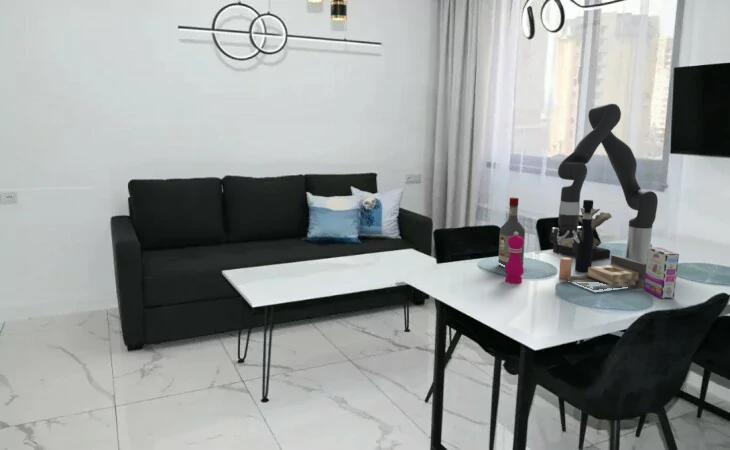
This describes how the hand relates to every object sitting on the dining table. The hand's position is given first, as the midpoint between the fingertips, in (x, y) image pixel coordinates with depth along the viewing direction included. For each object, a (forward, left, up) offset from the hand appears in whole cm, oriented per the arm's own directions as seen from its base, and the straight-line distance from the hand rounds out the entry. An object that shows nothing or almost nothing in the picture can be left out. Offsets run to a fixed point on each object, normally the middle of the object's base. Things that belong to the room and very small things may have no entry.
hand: (565, 252), depth 215 cm
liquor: (+10, -23, -11) cm, 27 cm away
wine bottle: (-15, -7, -11) cm, 20 cm away
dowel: (0, 0, -11) cm, 11 cm away
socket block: (-13, +12, -9) cm, 20 cm away
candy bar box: (-19, +29, -11) cm, 36 cm away
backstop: (-9, +12, -11) cm, 19 cm away
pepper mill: (+22, -3, -11) cm, 25 cm away
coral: (-37, -33, -11) cm, 51 cm away
